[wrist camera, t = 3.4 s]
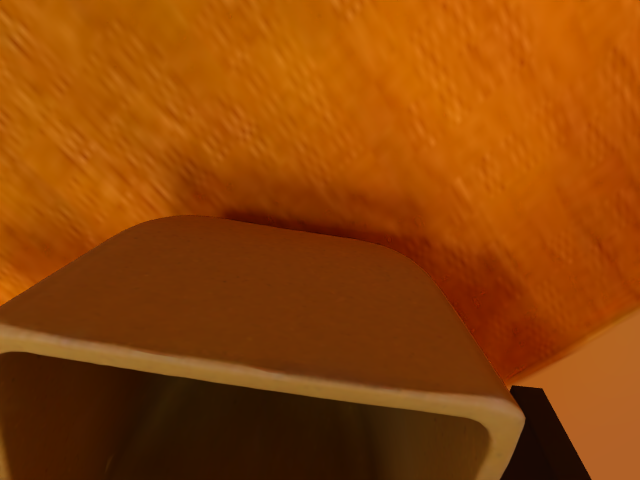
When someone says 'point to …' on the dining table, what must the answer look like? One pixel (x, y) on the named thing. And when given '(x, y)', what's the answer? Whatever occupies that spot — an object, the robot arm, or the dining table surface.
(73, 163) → the dining table surface
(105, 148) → the dining table surface
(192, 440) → the flower pot
